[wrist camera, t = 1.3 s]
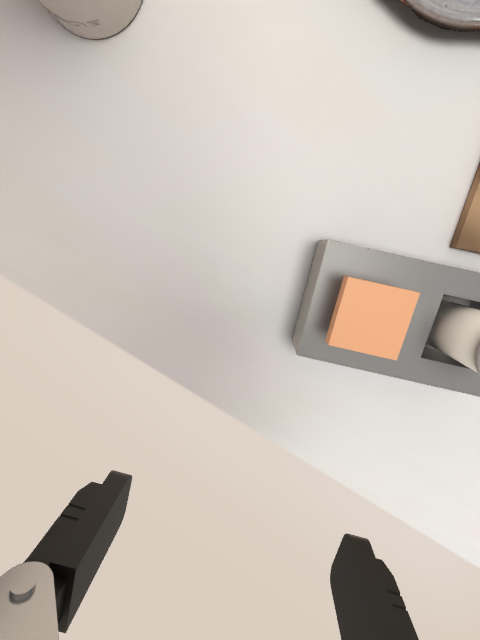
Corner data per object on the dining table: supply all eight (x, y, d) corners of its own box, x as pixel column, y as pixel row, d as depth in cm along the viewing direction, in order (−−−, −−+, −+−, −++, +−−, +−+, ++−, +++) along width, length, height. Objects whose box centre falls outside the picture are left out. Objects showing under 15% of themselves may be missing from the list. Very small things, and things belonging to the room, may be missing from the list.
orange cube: (333, 271, 28) (348, 276, 23) (393, 285, 28) (420, 292, 23) (317, 329, 29) (328, 345, 24) (375, 342, 29) (396, 360, 24)
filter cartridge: (418, 291, 31) (498, 314, 21) (467, 302, 31) (573, 331, 21) (402, 338, 33) (470, 383, 22) (449, 348, 32) (541, 399, 22)
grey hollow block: (317, 240, 31) (328, 239, 26) (505, 282, 31) (550, 288, 26) (291, 339, 33) (296, 355, 28) (465, 378, 33) (501, 401, 28)
